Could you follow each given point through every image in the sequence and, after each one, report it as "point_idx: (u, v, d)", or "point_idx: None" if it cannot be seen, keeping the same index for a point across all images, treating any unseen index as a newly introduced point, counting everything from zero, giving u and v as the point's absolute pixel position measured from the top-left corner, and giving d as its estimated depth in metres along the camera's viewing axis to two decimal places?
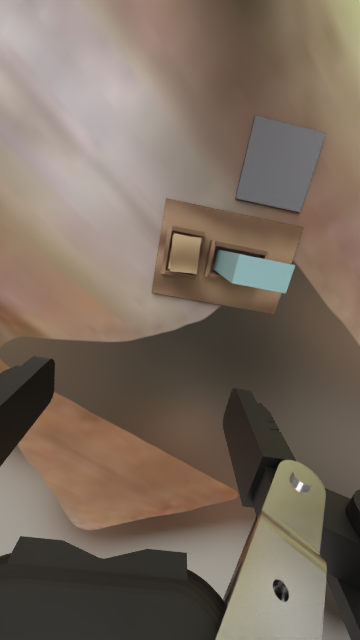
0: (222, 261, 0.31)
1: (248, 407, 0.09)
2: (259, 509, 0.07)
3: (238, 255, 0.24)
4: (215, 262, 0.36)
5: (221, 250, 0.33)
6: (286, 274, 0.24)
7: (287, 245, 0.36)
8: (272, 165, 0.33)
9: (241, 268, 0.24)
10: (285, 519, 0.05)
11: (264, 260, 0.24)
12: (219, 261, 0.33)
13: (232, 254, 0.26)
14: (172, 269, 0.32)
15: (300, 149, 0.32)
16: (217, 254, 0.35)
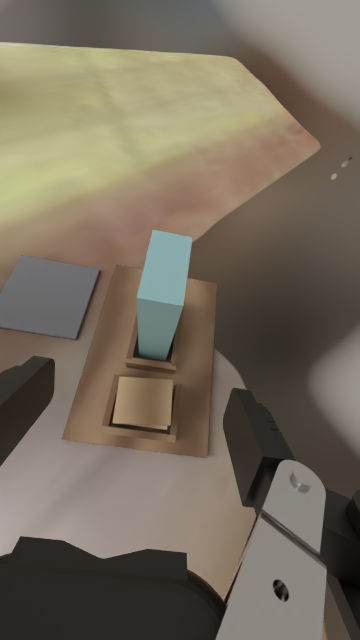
0: (153, 341, 0.21)
1: (248, 407, 0.09)
2: (259, 509, 0.07)
3: (138, 300, 0.15)
4: (156, 357, 0.26)
5: None
6: (165, 238, 0.17)
7: (135, 277, 0.31)
8: (43, 301, 0.28)
9: (159, 293, 0.15)
10: (285, 519, 0.05)
11: (146, 264, 0.16)
12: (153, 348, 0.23)
13: (139, 317, 0.17)
14: (167, 420, 0.20)
15: (32, 276, 0.29)
16: (145, 355, 0.26)
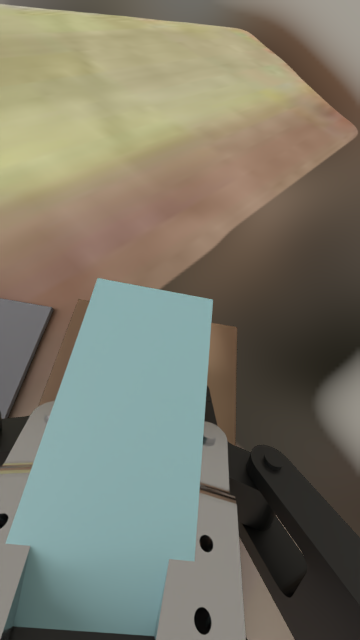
0: None
1: None
2: None
3: None
4: None
5: None
6: (134, 305, 0.06)
7: None
8: None
9: (87, 577, 0.04)
10: (201, 476, 0.06)
11: (55, 419, 0.04)
12: None
13: None
14: None
15: None
16: None
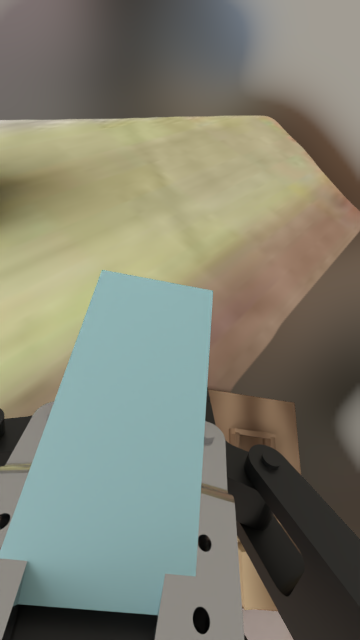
0: None
1: None
2: None
3: None
4: None
5: None
6: (137, 295, 0.06)
7: (219, 402, 0.32)
8: None
9: (92, 552, 0.04)
10: None
11: (61, 400, 0.05)
12: None
13: None
14: None
15: None
16: None
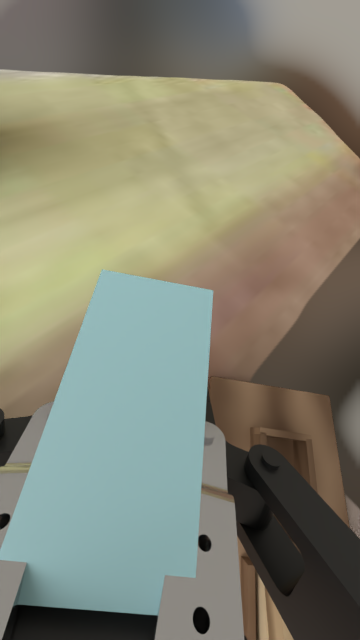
0: None
1: None
2: None
3: None
4: None
5: None
6: (138, 295, 0.06)
7: (236, 394, 0.25)
8: None
9: (92, 552, 0.04)
10: None
11: (61, 400, 0.05)
12: None
13: None
14: None
15: None
16: None
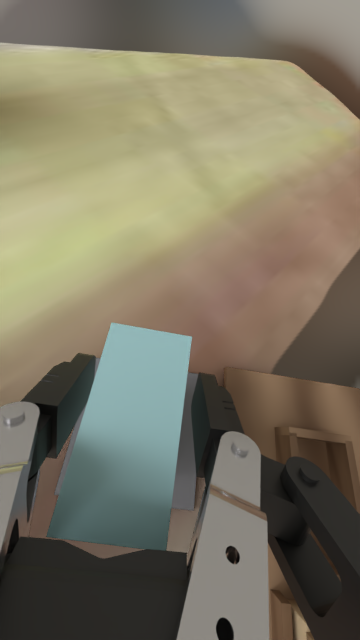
0: None
1: (208, 388, 0.10)
2: (207, 482, 0.07)
3: None
4: None
5: None
6: (136, 342, 0.08)
7: (257, 388, 0.21)
8: None
9: (107, 513, 0.06)
10: (230, 487, 0.06)
11: (86, 419, 0.07)
12: None
13: None
14: None
15: None
16: None
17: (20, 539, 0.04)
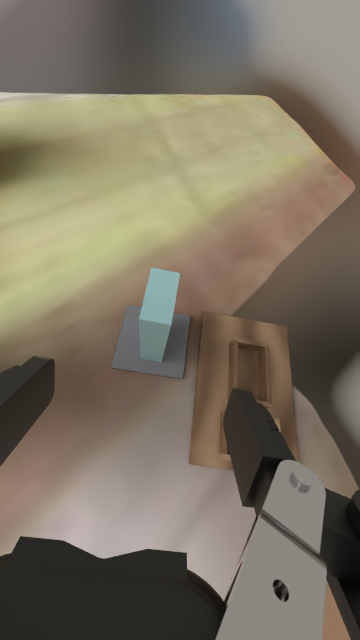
0: (151, 347, 0.28)
1: (248, 407, 0.09)
2: (259, 509, 0.07)
3: (140, 320, 0.21)
4: (154, 359, 0.32)
5: (140, 351, 0.30)
6: (160, 274, 0.24)
7: (220, 323, 0.37)
8: None
9: (154, 316, 0.22)
10: (285, 519, 0.05)
11: (146, 294, 0.22)
12: (151, 352, 0.30)
13: (141, 331, 0.24)
14: None
15: None
16: (145, 357, 0.32)
17: None
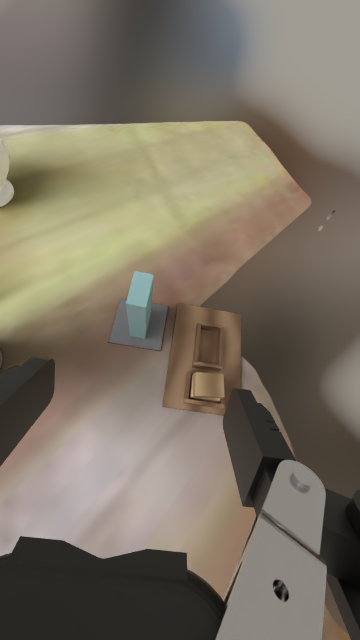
0: (136, 325, 0.40)
1: (248, 407, 0.09)
2: (259, 509, 0.07)
3: (126, 304, 0.34)
4: (139, 336, 0.45)
5: (129, 329, 0.42)
6: (140, 275, 0.36)
7: (190, 311, 0.49)
8: None
9: (135, 301, 0.34)
10: (285, 519, 0.05)
11: (130, 288, 0.35)
12: (137, 330, 0.42)
13: (127, 312, 0.36)
14: (222, 394, 0.38)
15: None
16: (133, 335, 0.45)
17: None
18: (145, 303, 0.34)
